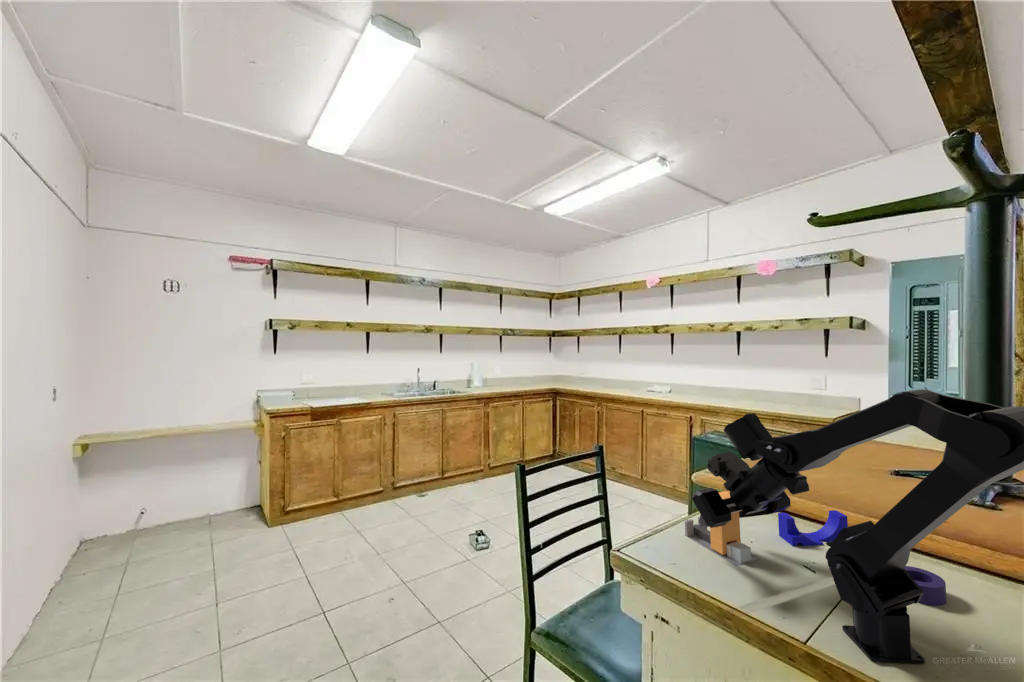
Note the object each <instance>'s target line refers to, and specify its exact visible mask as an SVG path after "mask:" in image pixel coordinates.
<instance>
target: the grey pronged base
mask: <svg viewBox="0 0 1024 682" xmlns="http://www.w3.org/2000/svg"><path fill="white" fill-rule="evenodd" d="M699 518H700V516H699V517H697V522H698V524H694V519H692V518H691V519H690V518H689V519H686V520H684V536H685V537H687V538H688V539H690V540H692V541H693V542H695V543H697V544H698V545H701V546H702V547H703V548H705V549H706V550H708V551H710V552H712V553H714V554H715V555H717V556H718V557H720V558H722V559H724V560H726V561H727V562H728V563H730V564H732V565H733V566H736V567H739V566H741V565H745V564H748V563H751V562H756V561H758V560H759V558H757V557H755V556H753V555H752V549H751V547H750V546H748V545H746V544H745V543H742V542H741V543H740V542H734V543H731V542H727V544H726V545H727V554H724V555H722V554H720V553H719V552H717V551H715V550H714V549H712V548H711V538H710V537H711V535H710V530H709V529H708V527H702V526H701V525H700V523H699Z"/></svg>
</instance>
